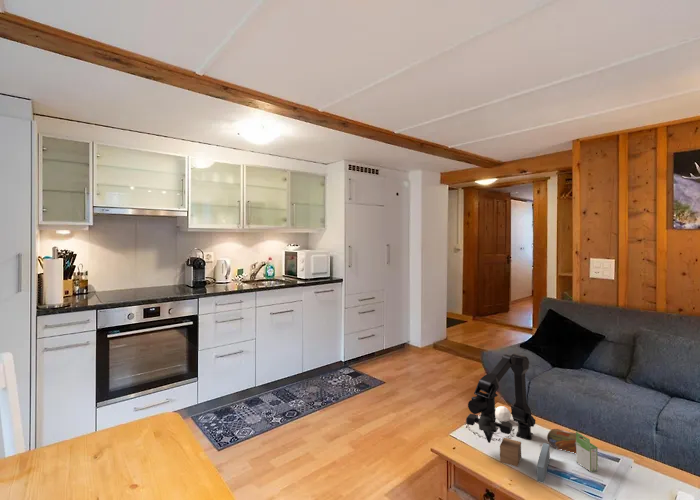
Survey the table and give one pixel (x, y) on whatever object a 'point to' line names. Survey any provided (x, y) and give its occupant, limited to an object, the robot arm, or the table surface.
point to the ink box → (586, 453)
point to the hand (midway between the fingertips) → (489, 442)
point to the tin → (562, 440)
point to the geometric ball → (502, 413)
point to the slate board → (543, 462)
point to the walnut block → (510, 452)
